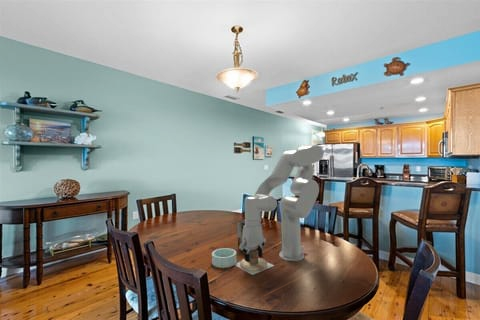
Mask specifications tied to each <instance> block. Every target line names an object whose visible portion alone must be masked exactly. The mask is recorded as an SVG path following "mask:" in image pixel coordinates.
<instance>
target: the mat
mask: <svg viewBox="0 0 480 320" xmlns="http://www.w3.org/2000/svg"><path fill="white" fill-rule="evenodd" d="M240 262H241V261H238V262H237V263H236V264H235V265H234V266H236V267H238V268H239V269H241V270H242V271H245V272H246V273H248V274H250V275H251V276H252V275H255V274H258V273H261V272H264V271H266V270H268V269H270V268H272V267H274V266H275V265H274V264H272V263H270V262H268V261H267V267H266V268H265V269H263V270H260V271H247V270H244V269H243V268H241V266H240Z"/></svg>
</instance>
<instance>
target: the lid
mask: <svg viewBox="0 0 480 320" xmlns="http://www.w3.org/2000/svg"><path fill="white" fill-rule="evenodd" d="M249 254H250V262H247V261H245V259H244V258H243V259H242V260H241V261H239V262H240V266H241V268H243V269H244V270H247V271H260V270H263V269H265V268H266V267H267V262H268V261H267V260H266V259H264V258H263V257H262V258H261V257H258V250H257V248H256V249H251V250H250V251H249ZM241 268H240V269H241ZM243 269H242V270H243ZM244 270H243V271H244ZM265 270H266V269H265ZM263 271H264V270H263Z"/></svg>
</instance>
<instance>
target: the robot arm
mask: <svg viewBox="0 0 480 320" xmlns="http://www.w3.org/2000/svg"><path fill="white" fill-rule="evenodd" d="M324 156H325V155H324V149H323V148H322V146H320V145H318V144H314V145H313V144H311V145H303V146H299V147H297V148H296V149H295V150H286V151H284V152H282V154H281V156H280V157H279V159H278V161H277V163H276V165H275V167H274V169H273V171H272V172H271V174H270V175H268V177H266V179H265V180H264V181H263V182H261V183H260V185H259V187H258V188H257V189H256V191H255V193H254V195H253V196H252V195H251V196H247V197H245V198H244V220H245V226H244V227H243V234H242V243H241V244H240V246H239V247H240V249H241V250H240V251H242V253H243V254H244V255H243V256H244V257H243V259H245V261H247V262H250V254H249V251H250V248H252V247H255V246H256V250H258V258H262V259H263V249H264V246H265V245H266V244H265V243H266V241H267V238H266V237H264V231H263V227H262V223H261V222H262V218H261V212H272V211H275V210H276V209H277V207H278V201H277V199H276V198H275V197H273V196H271V195H270V194H271V192H272V191H273V190H274V189H276V188H277V187H280V186H282V185H284V184H285V183H287V182H288V180H289V178H290V176H291V174H292V172H293V170H294V168H297V172H296V174H295V175H294V178H293V179H292V181H291V184H290V187H289V190H290V192H291V194H292V195H286V196H283V197H282V198H281V200H280V201H279V211H280V217H281V251H280V252H279V254H278V255H279V258H281V259H282V260H284V261H289V262H299V261H302V260H303V259H304V257H305V255H304V253H303V251H304V250H306V249H307V248H306V246H305V245H301V242H302V241H301V220H300V219H305V218H307V217H308V216H309V215H310V213H311V211H312V209H313V208H314V205H315V203H316V200H317V198H318V197H319V196H318V195H319V192H320V186H319V184H318V182H317V181H316V180H314V179H313V177H314V174H315V170H314V169H315V168H314V166H313V164H315V163H317V162H319V161H321V160H323V159H322V158H324ZM293 195H294V196H293ZM244 246H245V247H244ZM246 249H247V250H246Z"/></svg>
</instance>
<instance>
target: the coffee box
mask: <svg viewBox="0 0 480 320" xmlns="http://www.w3.org/2000/svg"><path fill="white" fill-rule="evenodd" d="M244 226H245V219H241V220H238V221H237V228H236V229H237V249H238V250H240V251H242V250H241V249H240V247H239V246H240V244H241V243H242V234H243V227H244ZM244 247H245V246H244ZM251 249H256V250H257V246H255V247H252V248H250V250H251ZM246 250H247V249H246Z"/></svg>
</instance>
